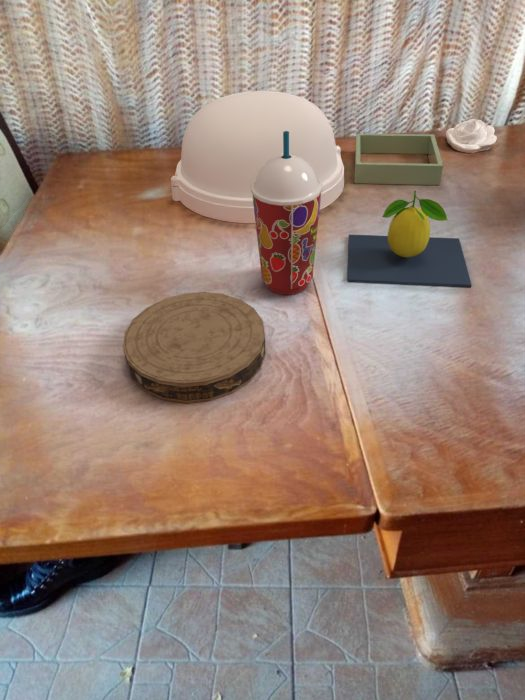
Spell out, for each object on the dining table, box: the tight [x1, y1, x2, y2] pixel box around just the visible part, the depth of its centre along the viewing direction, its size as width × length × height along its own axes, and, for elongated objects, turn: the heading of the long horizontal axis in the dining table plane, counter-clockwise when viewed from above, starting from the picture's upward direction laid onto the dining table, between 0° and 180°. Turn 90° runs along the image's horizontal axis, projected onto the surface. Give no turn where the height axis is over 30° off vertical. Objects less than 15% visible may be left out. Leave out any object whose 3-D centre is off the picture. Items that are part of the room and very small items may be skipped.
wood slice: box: [122, 291, 266, 404], centre depth 61 cm, size 16×16×3 cm
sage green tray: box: [353, 133, 444, 186], centre depth 98 cm, size 15×15×4 cm
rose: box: [445, 118, 498, 154], centre depth 105 cm, size 10×4×10 cm
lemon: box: [381, 190, 448, 258], centre depth 72 cm, size 7×6×10 cm
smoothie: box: [251, 131, 322, 295], centre depth 66 cm, size 8×8×20 cm
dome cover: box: [170, 90, 345, 224], centre depth 92 cm, size 32×30×14 cm
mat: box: [346, 234, 472, 288], centre depth 75 cm, size 16×12×1 cm
